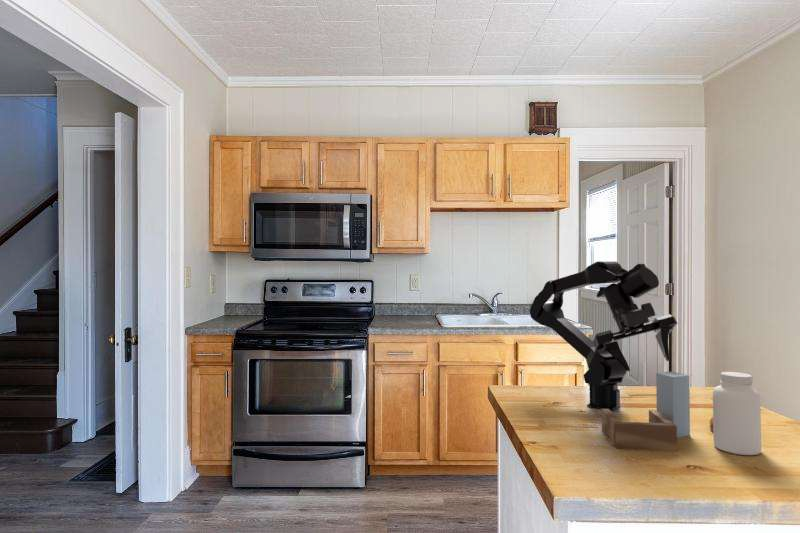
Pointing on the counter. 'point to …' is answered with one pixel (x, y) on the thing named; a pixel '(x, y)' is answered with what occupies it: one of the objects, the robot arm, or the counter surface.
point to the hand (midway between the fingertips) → (648, 365)
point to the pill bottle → (737, 415)
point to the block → (674, 399)
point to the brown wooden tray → (640, 432)
